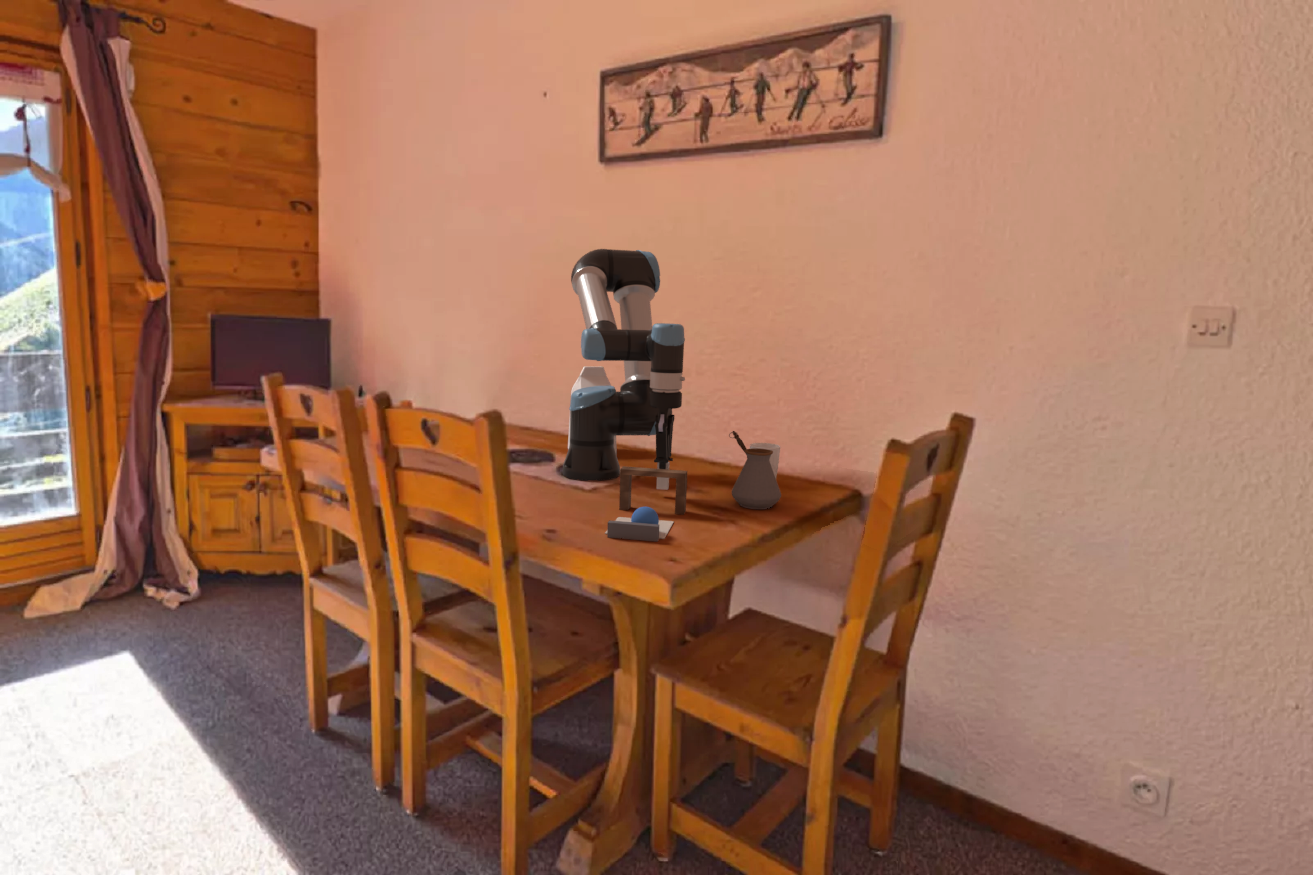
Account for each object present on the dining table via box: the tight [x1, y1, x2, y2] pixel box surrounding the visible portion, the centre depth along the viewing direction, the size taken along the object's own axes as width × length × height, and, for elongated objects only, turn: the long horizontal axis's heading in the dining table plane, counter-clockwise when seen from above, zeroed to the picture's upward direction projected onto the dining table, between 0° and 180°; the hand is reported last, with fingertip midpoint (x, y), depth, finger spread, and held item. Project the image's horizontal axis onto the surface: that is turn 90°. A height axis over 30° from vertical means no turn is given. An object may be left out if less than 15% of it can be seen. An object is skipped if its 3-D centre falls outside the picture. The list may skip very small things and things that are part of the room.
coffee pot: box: [728, 430, 782, 510], centre depth 182 cm, size 21×12×15 cm, turn 17°
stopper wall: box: [606, 520, 660, 542], centre depth 150 cm, size 10×2×3 cm, turn 80°
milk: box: [567, 366, 618, 455], centre depth 233 cm, size 12×12×26 cm
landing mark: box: [604, 516, 675, 540], centre depth 157 cm, size 12×12×1 cm
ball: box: [630, 506, 660, 524], centre depth 153 cm, size 6×6×6 cm
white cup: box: [749, 442, 781, 479], centre depth 200 cm, size 8×8×10 cm
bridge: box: [618, 465, 688, 516], centre depth 170 cm, size 14×3×9 cm, turn 80°
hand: (662, 488), depth 183 cm, fingers closed
